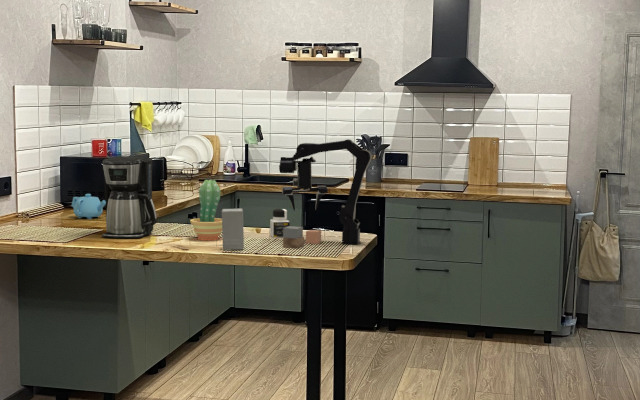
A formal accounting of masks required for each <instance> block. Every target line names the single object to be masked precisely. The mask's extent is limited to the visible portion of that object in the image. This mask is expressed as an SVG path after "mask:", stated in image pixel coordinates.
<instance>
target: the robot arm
mask: <svg viewBox="0 0 640 400" xmlns="http://www.w3.org/2000/svg"><path fill="white" fill-rule="evenodd" d="M295 150H296V152H295V153H294V154H293V156H292V157H286V156H281V157H280V161H279V167H278V170H279V173H280V174H295V172H297V178H296V177H295V178H293V179H292V186H293V187H292V186H291V185H290V186H282V187H281V193H282V195H285V197H288V199H289V201H290V204H291V207H292V210H293V212H295V210H296V208H295V200H294V198H295V197H294V194H293V193H316V194H315V196H316V198H315V211H317V210H318V208H319V205H320V201H321V199H322V197H323V196H326V195H325V194H329V189H328V187H327V186H326V185H317V186H316V187H312V185H313V184H312V180H313V179H312V163H316V162H317V160H316V159H315V158H314V157H313V155H316V154H320V153H325V152H326V153H327V152H332V151H339V150H340V151H341V150H346V151H348V152H349V153H350V154H351V155H352V156H353V157H355V170H354V174H353V178H352V182H351V185H350V189H349V193H348V197H347V200H346V203H345V205H344V204H342V205H341V206H340V211H339V214H337V216H338V217H339V218H338V220H339V222H340V224H341V225H343V231H342V233H341V236H342V237H341V243H342V244H346V245H359V244H360V243H362V241H361V228H359V227H360V224H361V222H360V221H359V219H357V218H356V213H357V212H356V211H357V206H356V205H357V201H358V198H359V194H360V191H361V187H362V183H363V180H364V177H365V173H366V172H367V169H368V167H369V165H370V163H371V161H372V159H373V155H372V152H371V151H370V150H368V149H363V148H362V147H361V146H360V145H358V144H356V143H354V141H353V140H352V139H348V138H347V139H344V140H338V141H337V140H336V141H329V142H323V143H315V142H303V143H300V144H298V145H297V147H296V149H295ZM309 156H310V157H309ZM306 157H307V158H306ZM308 157H309V158H308Z"/></svg>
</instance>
